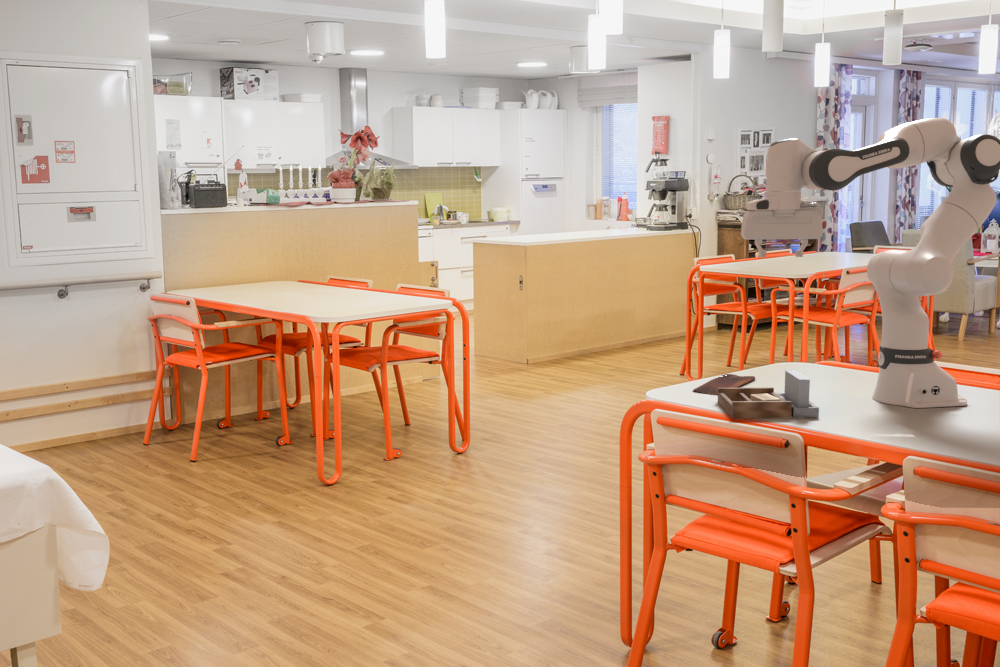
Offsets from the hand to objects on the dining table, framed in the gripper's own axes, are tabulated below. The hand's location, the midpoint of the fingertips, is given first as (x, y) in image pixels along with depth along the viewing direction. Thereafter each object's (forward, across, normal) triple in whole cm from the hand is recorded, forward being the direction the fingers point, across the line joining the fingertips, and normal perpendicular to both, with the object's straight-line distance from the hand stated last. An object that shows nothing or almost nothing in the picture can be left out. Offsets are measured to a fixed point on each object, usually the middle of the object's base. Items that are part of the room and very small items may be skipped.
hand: (780, 257), depth 242 cm
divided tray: (+37, +11, +14) cm, 41 cm away
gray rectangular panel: (+37, -1, +14) cm, 40 cm away
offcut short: (+36, +6, +14) cm, 39 cm away
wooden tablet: (+37, +6, -12) cm, 39 cm away
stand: (+37, -1, +14) cm, 40 cm away
